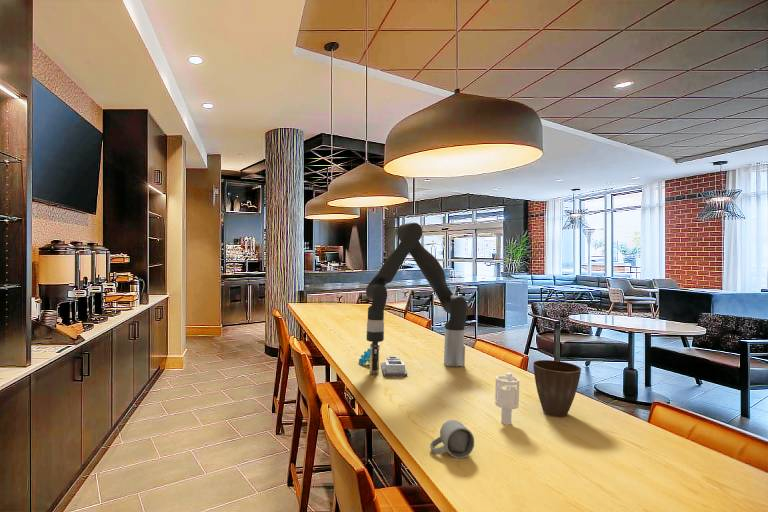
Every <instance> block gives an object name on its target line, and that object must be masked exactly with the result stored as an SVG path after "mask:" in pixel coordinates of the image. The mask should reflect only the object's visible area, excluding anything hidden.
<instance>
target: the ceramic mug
mask: <svg viewBox="0 0 768 512" xmlns="http://www.w3.org/2000/svg"><path fill="white" fill-rule="evenodd" d="M441 443H442V444H443V445H442V446H440V447H436V446H438V445H439V444H441ZM429 447H430V450H431V451H430V452H432V454H434V455H441V454H444V453H448V454H449V455H450V456H452V457H453V458H455V459H464V458H466V457H468V456H469V455H470V454H471V453H472V451H474V448H475V437H474V435H473V433H472V431H471V430H470V429H469V428H467V427H466V426H465V425H464V424H463V423H462V422H460V421H458V420H456V419H450V420H449V419H448V420H446V422H444V423H443V424H442V425H441V427H440V429H439V436H438V437H437V438H436V439H434V440H432V442H430V445H429Z"/></svg>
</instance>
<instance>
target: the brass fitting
mask: <svg viewBox="0 0 768 512" xmlns="http://www.w3.org/2000/svg"><path fill="white" fill-rule="evenodd" d="M374 359H377V357H374ZM379 371H380V355H379V356H378V362H377V371H372V356H371V355H370V363H369V375H370V376H378V375H379V374H380V372H379ZM377 374H378V375H377Z"/></svg>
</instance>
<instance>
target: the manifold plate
mask: <svg viewBox="0 0 768 512" xmlns="http://www.w3.org/2000/svg"><path fill="white" fill-rule="evenodd" d="M380 367H381V369H382V374H383V377H393V376H407V377H408V373H407V370H406V364H405V362H404V360H402V359H401V360H400V357H399V356H398V355H397V356H396V355H393V356H392V355H386V359H385V360H384V362H381V363H380Z"/></svg>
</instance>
